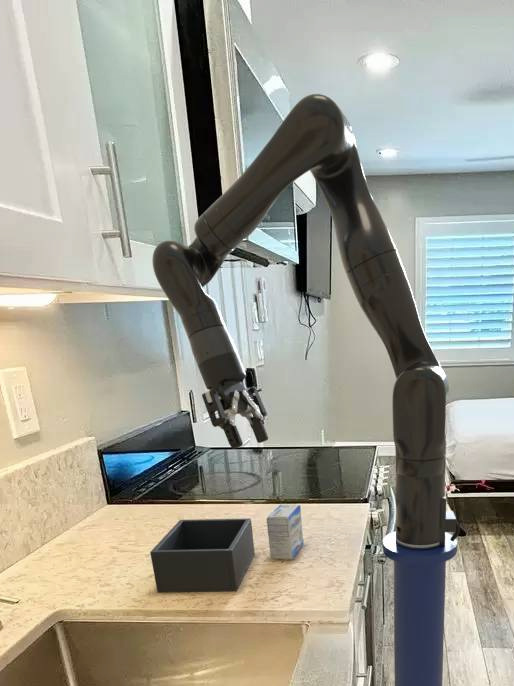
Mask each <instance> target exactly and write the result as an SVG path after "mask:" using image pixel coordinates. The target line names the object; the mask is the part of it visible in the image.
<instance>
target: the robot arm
mask: <svg viewBox="0 0 514 686" xmlns="http://www.w3.org/2000/svg"><path fill="white" fill-rule="evenodd" d="M309 171H310V173H311V175H312V177H313V178H314V180H315V182H316V184H317V186H318V188H319V190H320V192H321V194H322V197H323V199H324V200H325V203H326V205H327V207H328V210H329V212H330V215H331V218H332V222H333V228H334V232H335V238H336V242H337V247H338V251H339V256H340V259H341V263H342V267H343V269H344V273H345V275H346V277H347V279H348V282H349V285H350V287H351V289H352V292H353V295H354V296H355V298H356V301H357V302H358V305H359V306H360V309H361V310H362V312H363V314H364V315H365V317H366V318H367V320H368V322H369V323H370V325H371V326H372V327H373V329H374V330H375V332H376V334H377V336H378V337H379V338H380V340H381V342H382V343H383V345H384V348H385V350H386V352H387V355H388V357H389V360H390V363H391V365H392V369H393V372H394V376H395V382H394V383H393V389H392V397H391V399H392V401H391V402H392V437H393V443H394V448H395V449H394V450H395V524H394V530H395V531H396V543H397V545H399V546H400V547H403V548H406V549H410V550H431V549H435V548H438V547H445V532H447V533H453V534H452V537H451V538H450V540H451V541H454V540H455V539H456V540H457V538H458V537H459V535H460V532H461V526H460V524H459V522H458V521H457V517H456V515H455V512H454V510H447V498H446V467H447V466H446V465H447V464H446V462H447V439H446V438H447V437H446V420H447V417H446V416H447V399H448V396H449V390H450V389H449V388H450V387H449V382H448V381H449V380H448V378H447V375H446V374H445V372H444V370H443V368H442V366H441V364H440V362H439V360H438V359H437V357H436V354H435V353H434V351H433V349H432V347H431V344H430V343H429V340H428V338H427V336H426V333H425V331H424V328H423V326H422V323H421V319H420V316H419V311H418V308H417V305H416V301H415V298H414V294H413V291H412V288H411V285H410V283H409V279H408V275H407V273H406V271H405V267H404V265H403V262H402V260H401V257H400V254H399V252H398V249H397V247H396V244H395V243H394V240H393V238H392V235H391V233H390V231H389V228H388V226H387V224H386V222H385V220H384V218H383V216H382V214H381V212H380V210H379V208H378V206H377V204H376V202H375V200H374V198H373V196H372V194H371V191H370V189H369V186H368V182H367V179H366V176H365V172H364V169H363V166H362V163H361V159H360V154H359V151H358V148H357V143H356V139H355V135H354V132H353V128H352V125H351V123H350V121H349V120H348V118H347V116H346V115H345V114H344V111H342V109H341V108H340V107H339V105H338V104H337V103H336V102H335V101H334V100H333V99H332V98H331V97H329V96H328V95H325V94H322V93H312V94H309V95H306V96H304V97H303V98H301V99H300V100H299V101H298V102H297V103H296V104H295V105H294V106H293V108H292V109H291V110H290V111H289V112H288V114H287V116H285V118H284V120H283V121H282V122H281V123H280V125H279V126H278V128H277V130H276V131H275V132H274V134H273V135H272V136H271V138H270V139H269V140H268V142H267V143H266V145H265V146H264V147H263V148H262V149H261V150H260V152H259V153H258V155H257V156H256V157H255V158H254V159H253V160H252V162H251V163H250V165H249V166H248V167H246V169H245V170H244V172H243V173H242V174H241V175H240V176H239V177H238V178H237V179H236V180H235V181H234V182H233V184H231V186H229V188H228V189H227V190H226V191H224V193H222V194H221V195H220V196H219V197H218V198H217V199H216V200H215V201H214V202H213V203H212V204H211V205H210V206H209V207H208V208H207V209H206V210H205V211H204V212H203V213H202V214H201V215H200V216H199V217H198V218H197V219H196V221H195V223H194V226H193V230H194V233H195V236H196V237H195V238H194V240H193V241H192V242H191V244H189V245H185V244H183V243H180V242H177V241H175V240H164V241H162V242H160V243H158V244H157V245H156V246H155V248H154V251H153V253H152V268H153V269H152V270H153V272H154V275H155V278H156V280H157V283H158V285H159V286H160V288H161V289H162V291H163V293H164V295H165V296H166V297H167V299H168V301H169V302H170V304H171V306H172V307H173V309H174V310H175V311H176V312H177V314H178V316H179V318H180V320H181V324H182V327H183V328H184V332H185V334H186V336H187V339H188V342H189V345H190V350H191V353H192V356H193V358H194V360H195V363H196V366H197V368H198V371H199V373H200V375H201V378H202V380H203V383H204V386H205V388H206V389H207V390H208V391H205V392H204V393H202V395H201V398H202V401H203V403H204V406H205V409H206V411H207V414H208V417H209V419H210V422H211V426H213V427H214V428H217V427H219V428H220V430H223V432H224V434H225V438H226V440H227V442H228V444H229V446H230V448H231V449H232V450H235V449H238V448H240V447H243V446H244V445H243V444H244V442H243V439H242V437H241V434H240V432H239V430H238V427H237V425H236V424H235V421H236V420H235V419H236V415H240V416H241V417H242V418H245V419H246V420H247V421H248V422H249V423H250V427H251V430H252V432H253V434H254V438H255V439H256V440H255V441H256V442H257V443H258V444H261V443H263V442H267V441H268V440H269V436H268V433H267V430H266V428H265V425H264V423H263V420H264V418H265V417H267V416H268V412H267V410H266V408H265V405H264V403H263V401H262V398H261V396H260V393H259V391H258V389H257V387H256V386H255V385H252V386H251V387H246V386H245V384H244V380H245V379H246V377H247V372H246V370H245V368H244V365H243V362H242V360H241V358H240V355H239V353H238V350H237V347H236V345H235V341H234V339H233V337H232V335H231V334H230V332H229V330H228V328H227V324H226V323H225V320H224V318H223V315H222V312H221V310H220V307H219V305H218V303H217V301H216V300H215V299H214V298H213V297H212V296H211V295H209V294H207V292H205V290H204V287H205V286H207V285H208V284H209V283H210V282H211V281H212V280H213V278H214V277H215V276H216V274H217V272H218V271H219V270H220V268H221V267H222V265H223V264H224V262H225V260H226V258H227V257H228V255H230V254H231V253H232V252H233V251H234V250H235V249H236V248H238V247H239V246H240V245H241V244H242V243H243V242H245V241H246V239H247V238H248V237H250V236H251V234H253V233H254V231H256V229H257V228H259V226H260V224H261V223H262V222H263V220H264V219H265V217H266V216H267V214H268V213H269V211H270V209H271V208H272V206H273V205H274V203H276V201H277V199H278V198H279V197H280V196H281V195H282V193H284V191H285V190H287V188H288V187H289V186H290V185H292V184H293V183H294V182H295V181H297V179H299V178H300V177H302V176H303V175H305V174H306V173H308V172H309ZM216 412H217V415H216ZM217 416H218V417H217Z"/></svg>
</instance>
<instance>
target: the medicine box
mask: <svg viewBox="0 0 514 686" xmlns="http://www.w3.org/2000/svg"><path fill="white" fill-rule="evenodd" d="M301 509H302V508H301V505H300V504H291V503H285V504H282V503H281V504H279V505H278V506H277V507H276V508H275V509H274V510H273V511H272V512H271V513H270V514H269V515H268V516H266V526H267V527H266V528H267V536H268V546H269V554H270V559H272V560H288V561H289V560H294V558H295V557H296V555H297V554H298V552H299V551H300V550H301V548H302V547H303V546H304V534H303V521H302V510H301Z"/></svg>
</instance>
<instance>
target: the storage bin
mask: <svg viewBox="0 0 514 686" xmlns="http://www.w3.org/2000/svg"><path fill="white" fill-rule="evenodd" d="M254 544H255V543H254V533H253V524H252V518H210V519H209V518H207V519H205V518H204V519H203V518H202V519H201V518H200V519H179V520H178V521H177V523H176V524H175V525H174V526H173V527H172V528H171V529H170V530H169V531H167V533H166V534H165V536H163V537H162V539H160V541H159V542H158V543H157V544H156V545H155V546H154V547H153V548H152V549H151V550H150V552H149V554H150V559H151V564H152V570H153V576H154V581H155V586H156V592H157V594H172V593H173V594H174V593H177V594H179V593H180V594H181V593H230V592H231V593H233V592H234V593H236V592H238V590H239V588H240V586H241V584H242V582H243V580H244V578H245V576H246V574H247V572H248V570H249V568H250V565H252V564H251V563H252V562H253V559H254V558H255V556H256V553H255V551H256V550H255V545H254Z"/></svg>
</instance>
